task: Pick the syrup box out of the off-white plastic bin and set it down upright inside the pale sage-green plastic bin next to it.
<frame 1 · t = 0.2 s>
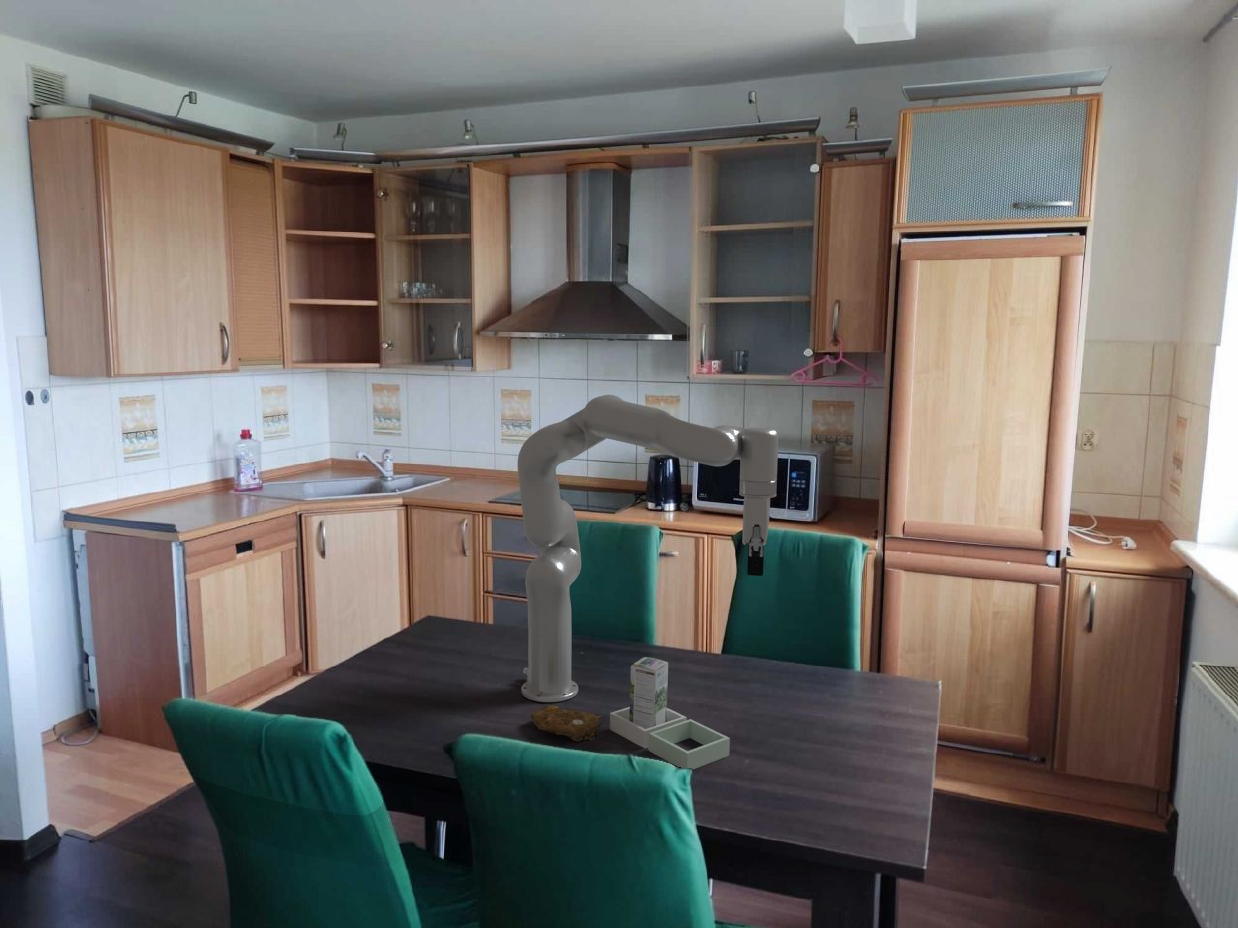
hand: (755, 569, 191), 31 cm above the table, tool pointing down, fingers open, 9 cm apart
syrup box: (647, 732, 185), resting in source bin
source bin: (647, 731, 185), on the table
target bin: (688, 752, 175), on the table
decorative rock: (563, 732, 185), on the table
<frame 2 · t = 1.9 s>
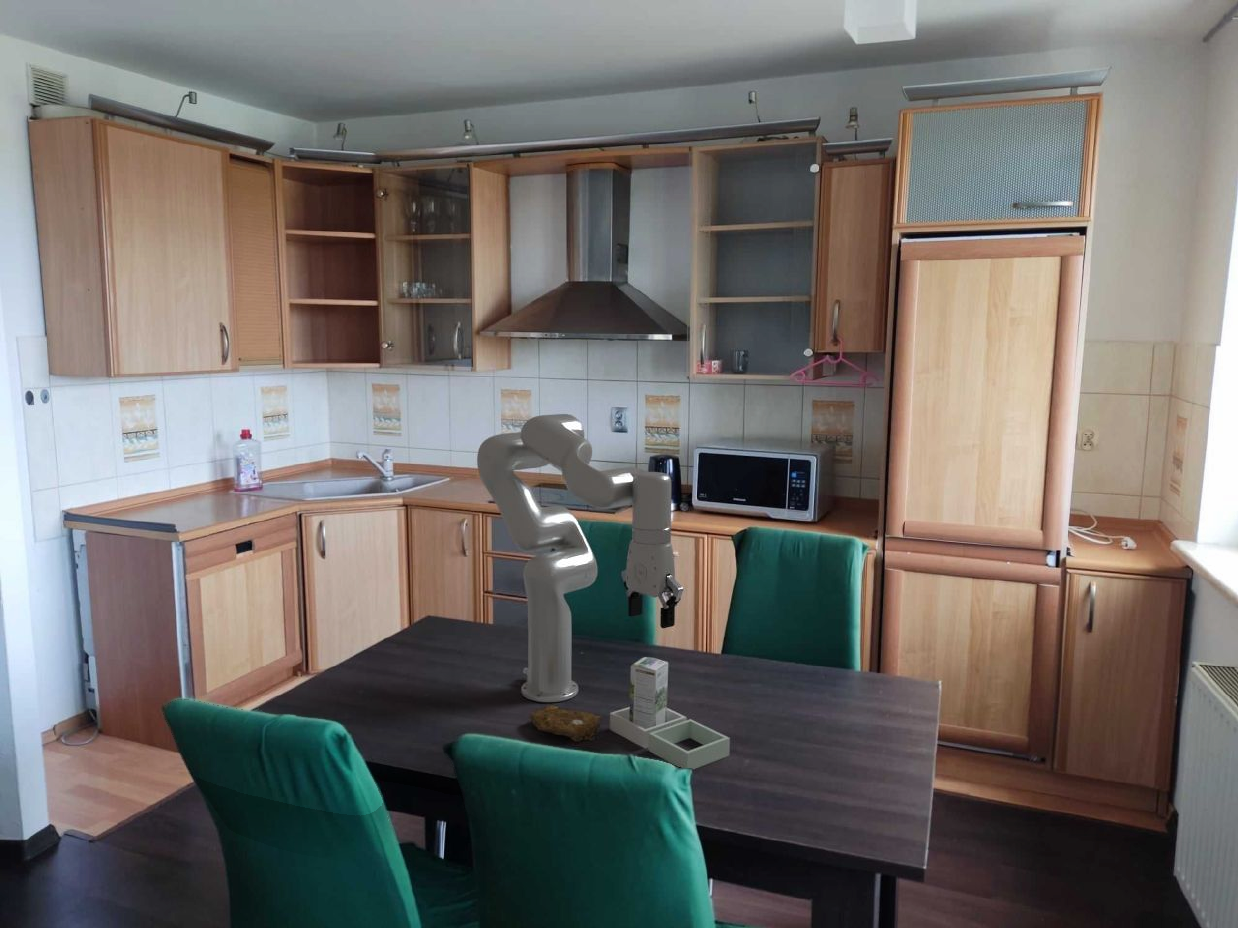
hand: (651, 620, 181), 23 cm above the table, tool pointing down, fingers open, 9 cm apart
nothing on the table moved.
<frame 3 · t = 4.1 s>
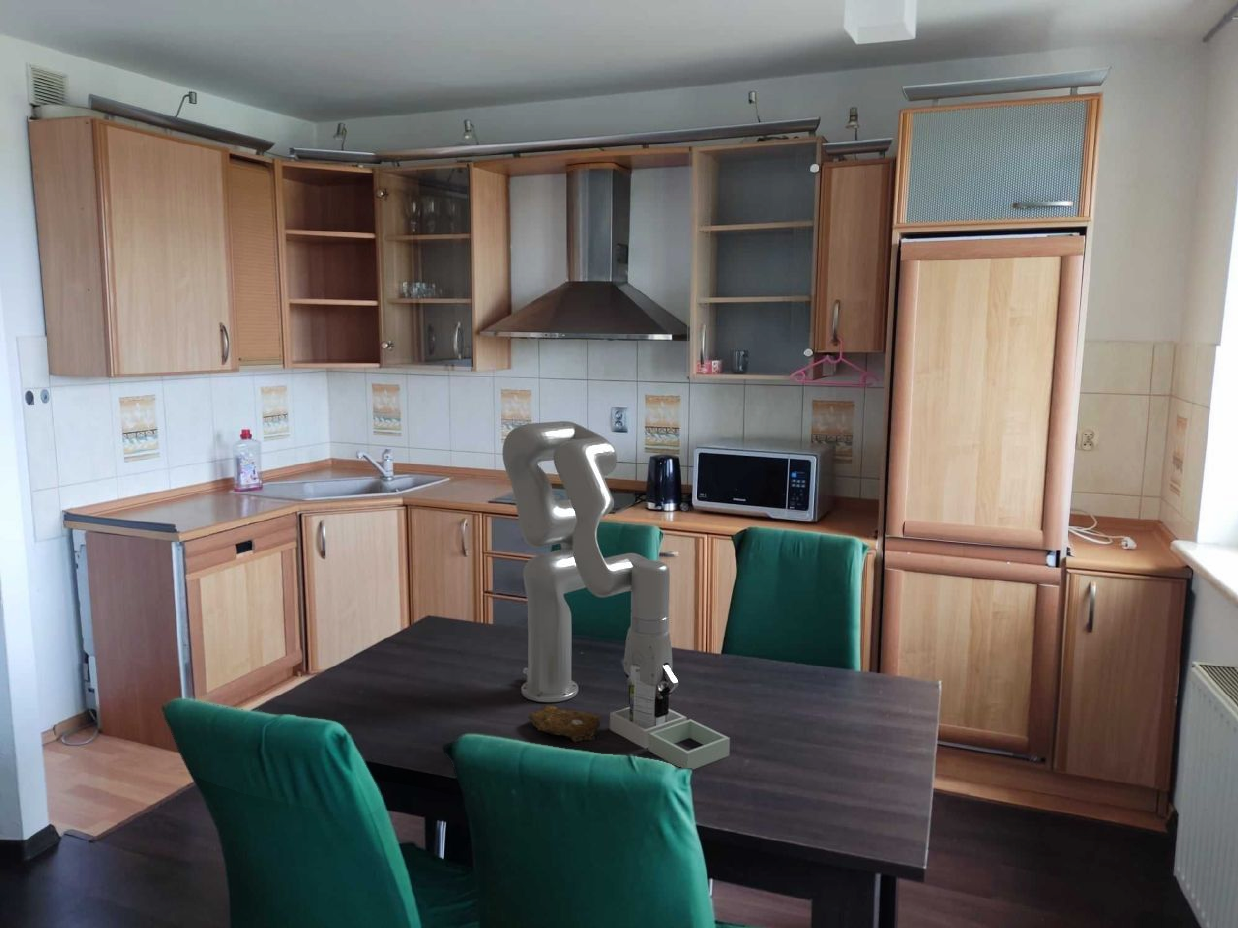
hand: (648, 708, 184), 5 cm above the table, tool pointing down, fingers closed on syrup box, 7 cm apart
syrup box: (647, 732, 185), resting in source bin, touching gripper
everything else where it was.
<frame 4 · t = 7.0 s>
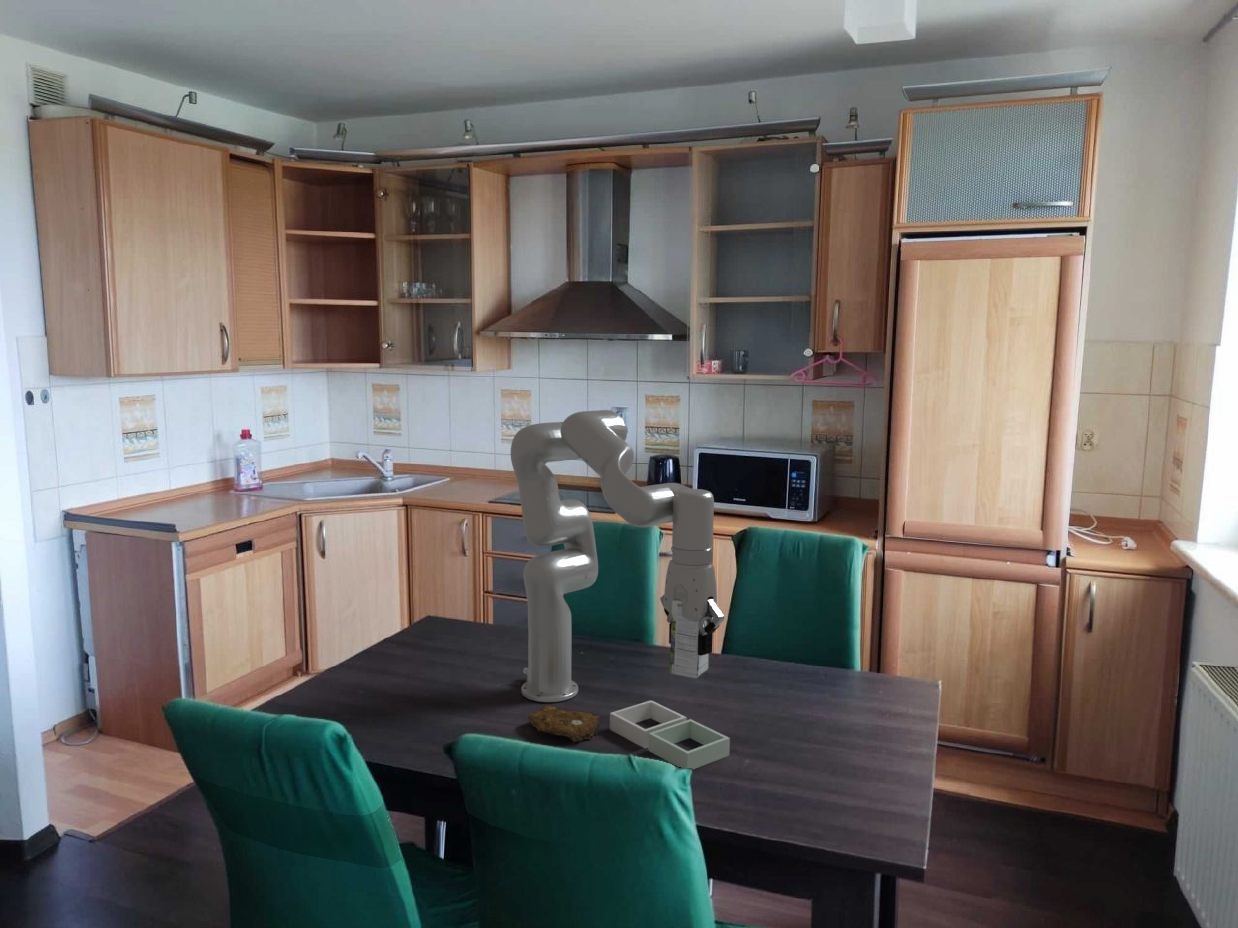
hand: (690, 647, 173), 21 cm above the table, tool pointing down, fingers closed on syrup box, 7 cm apart
syrup box: (689, 673, 173), point 16 cm above the table, touching gripper
everything else where it was.
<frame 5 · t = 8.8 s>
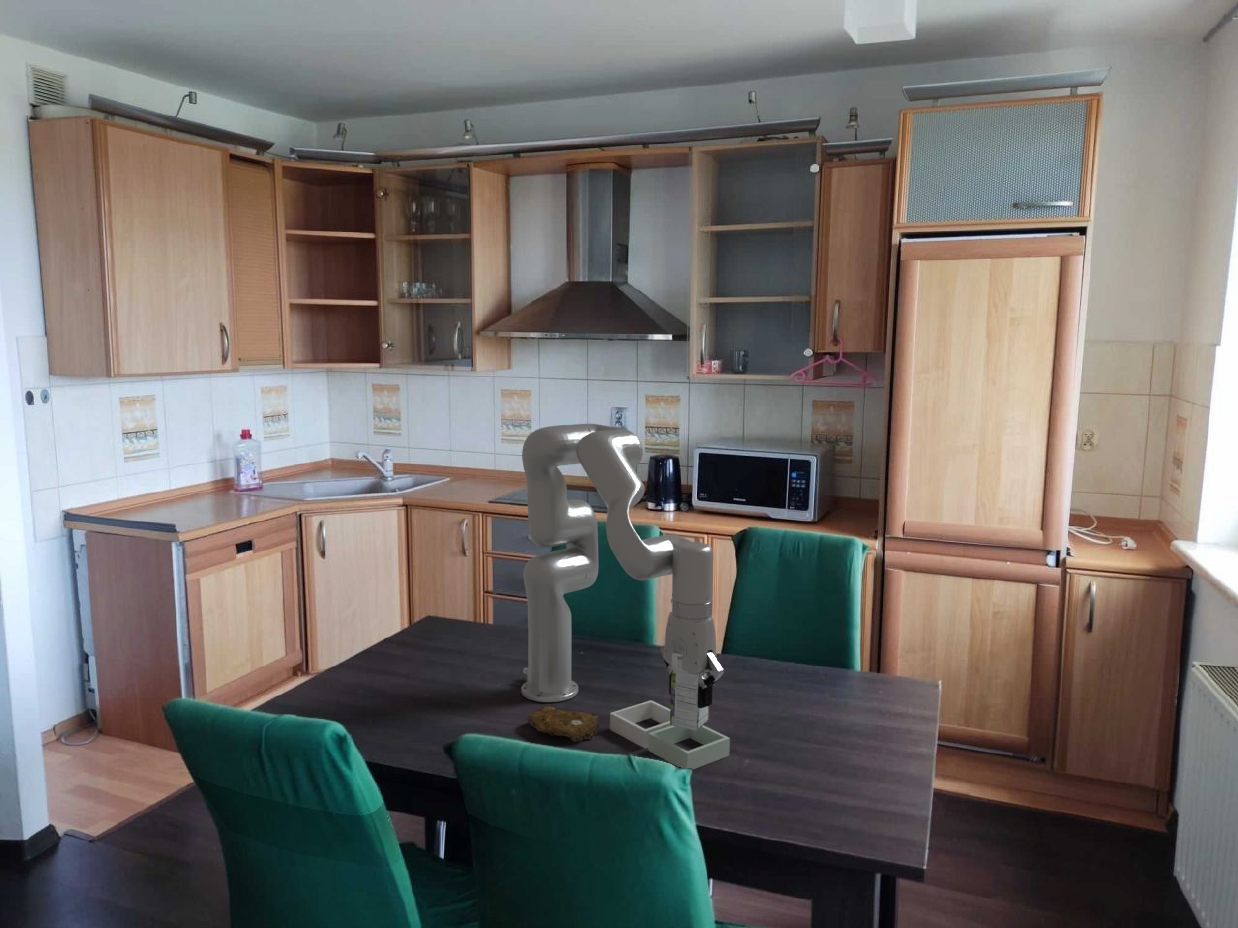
hand: (690, 699, 174), 11 cm above the table, tool pointing down, fingers closed on syrup box, 7 cm apart
syrup box: (689, 724, 174), point 6 cm above the table, touching gripper
everything else where it was.
when the fingers open (6 cm above the table, at t = 10.3 s): syrup box drops 1 cm, resting in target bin.
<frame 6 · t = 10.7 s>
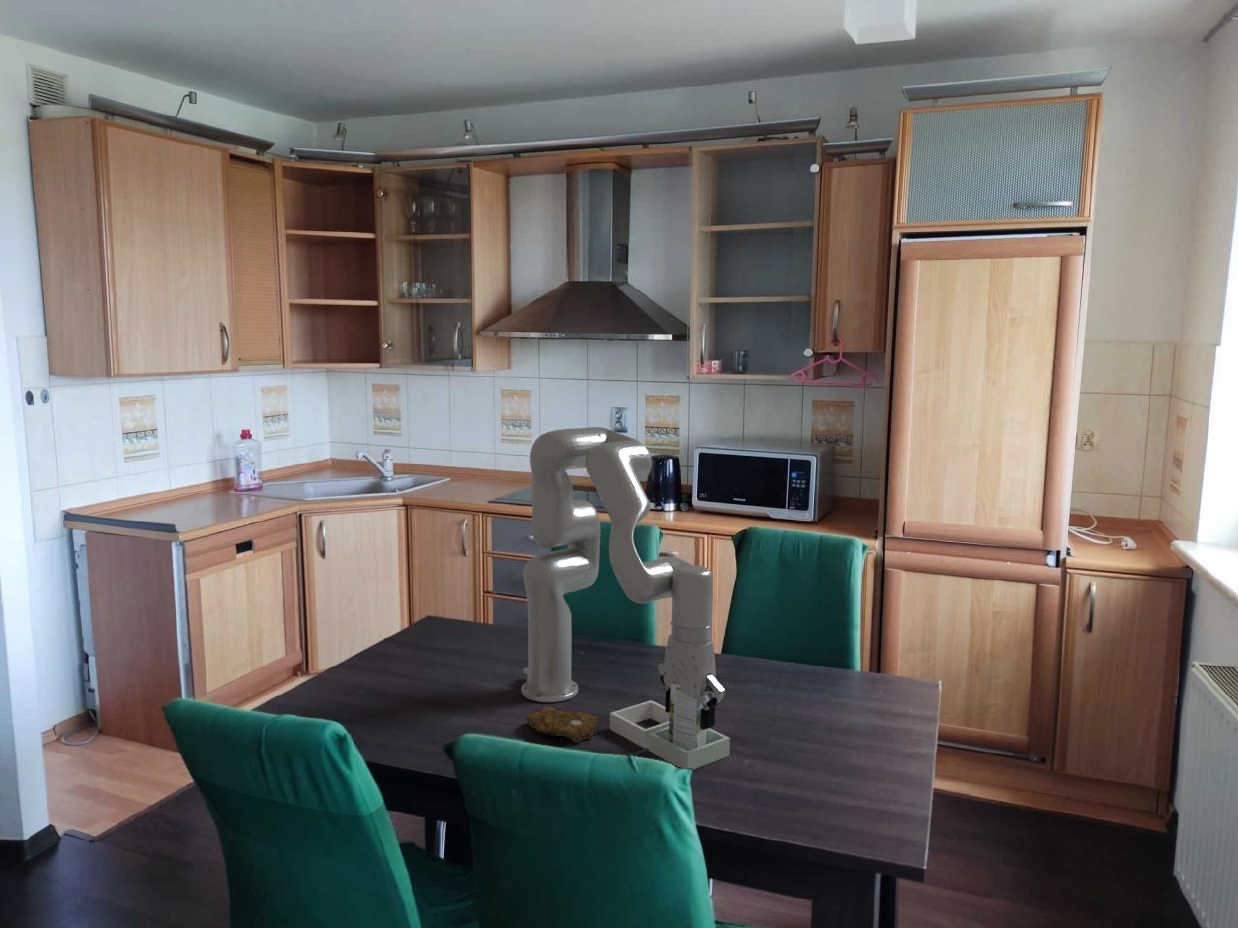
hand: (689, 718, 174), 7 cm above the table, tool pointing down, fingers open, 9 cm apart
syrup box: (688, 753, 175), resting in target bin
everything else where it was.
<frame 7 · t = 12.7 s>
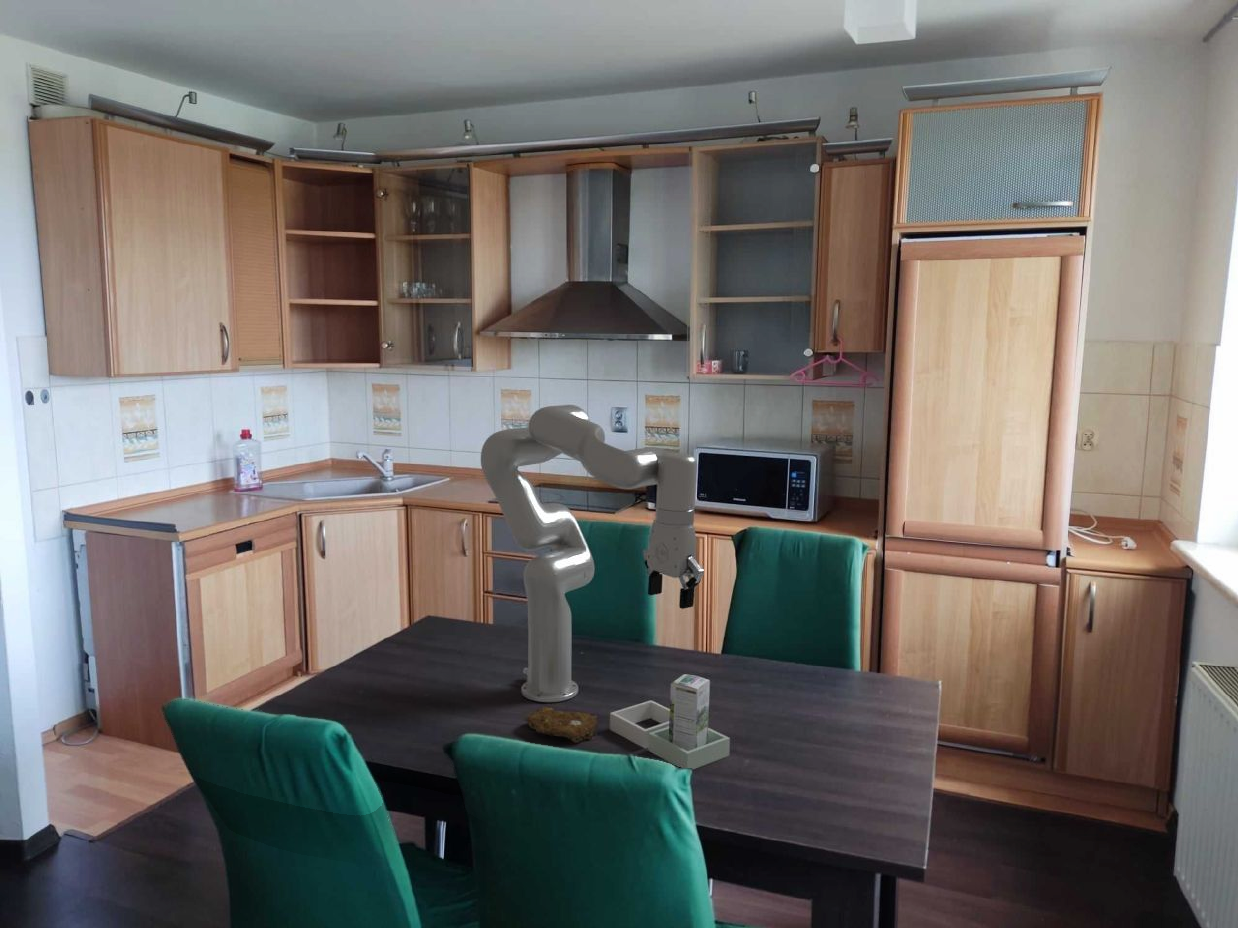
hand: (670, 600, 182), 27 cm above the table, tool pointing down, fingers open, 9 cm apart
nothing on the table moved.
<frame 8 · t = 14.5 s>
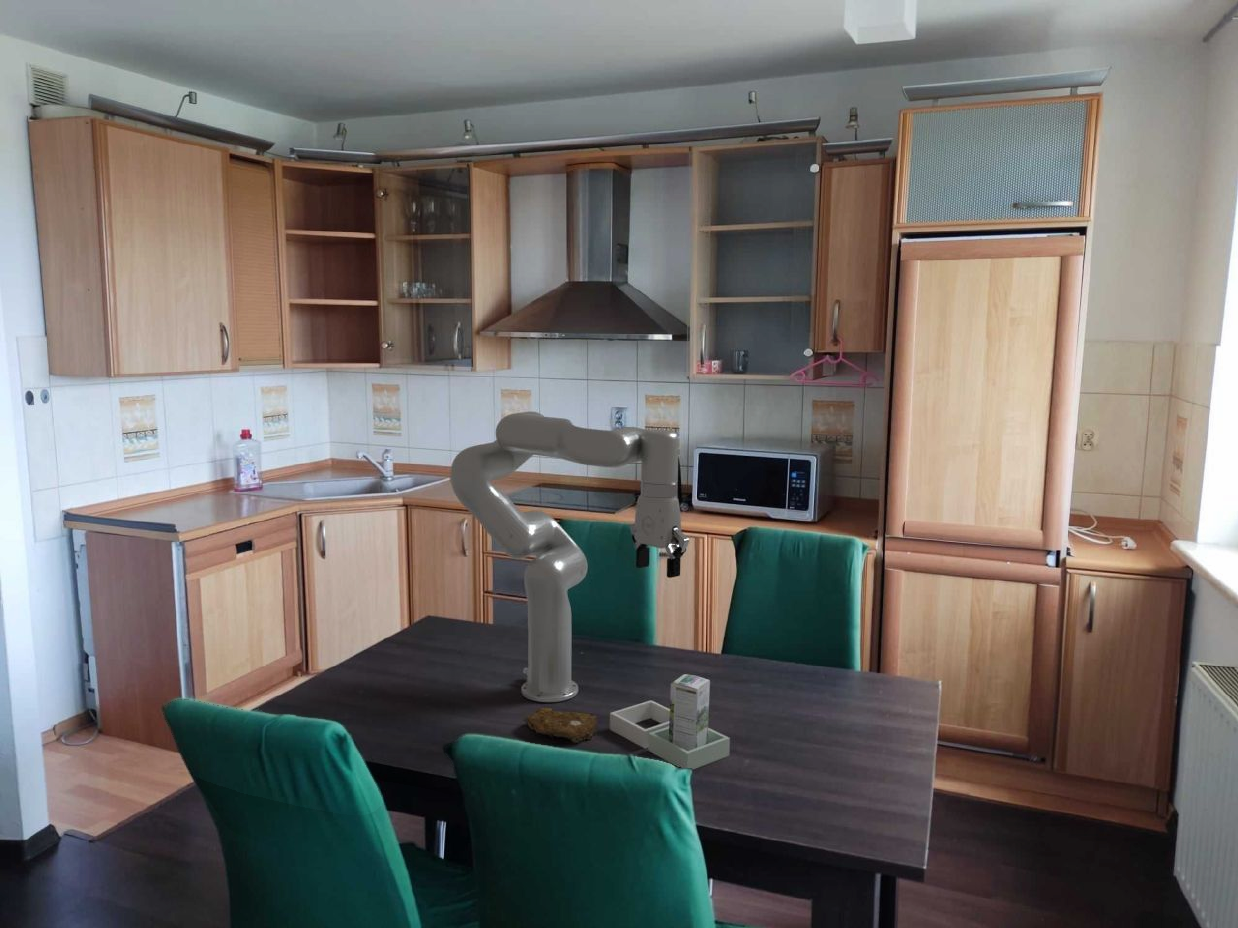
hand: (657, 571, 191), 30 cm above the table, tool pointing down, fingers open, 9 cm apart
at the end: syrup box 0.1 cm off-centre on the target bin, point 0.0 cm above the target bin's base; syrup box tilted 0°; the gripper is holding nothing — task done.
